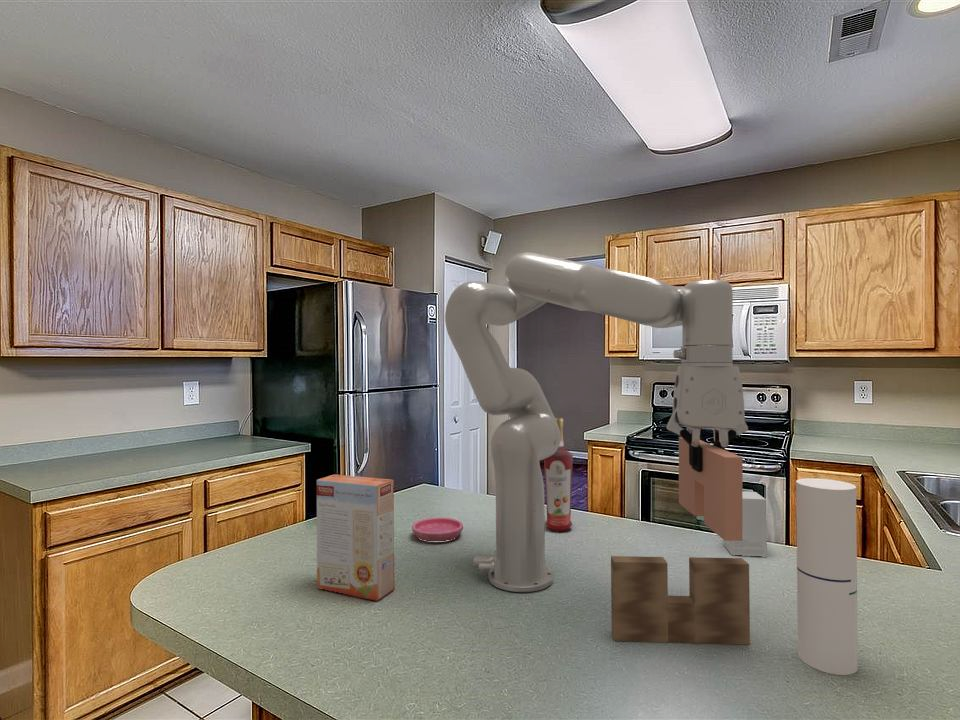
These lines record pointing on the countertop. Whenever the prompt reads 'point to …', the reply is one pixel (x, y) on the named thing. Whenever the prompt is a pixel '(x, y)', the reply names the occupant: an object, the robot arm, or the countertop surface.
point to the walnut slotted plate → (680, 601)
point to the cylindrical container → (827, 575)
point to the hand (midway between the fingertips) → (706, 469)
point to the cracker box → (355, 535)
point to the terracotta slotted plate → (713, 489)
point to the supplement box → (751, 527)
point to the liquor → (558, 486)
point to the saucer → (437, 529)
